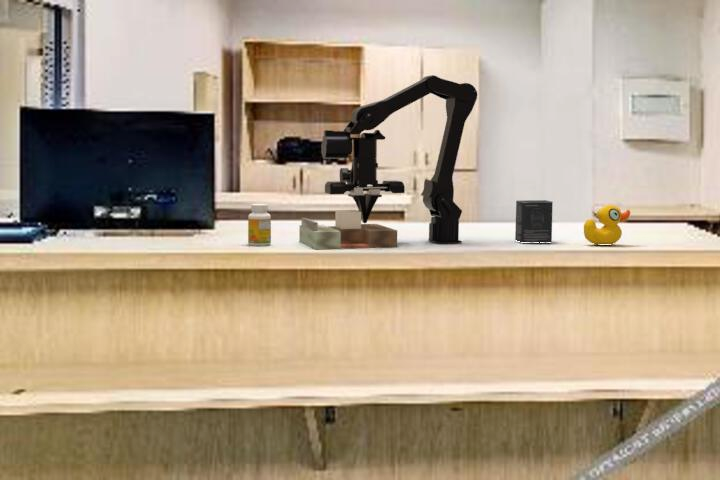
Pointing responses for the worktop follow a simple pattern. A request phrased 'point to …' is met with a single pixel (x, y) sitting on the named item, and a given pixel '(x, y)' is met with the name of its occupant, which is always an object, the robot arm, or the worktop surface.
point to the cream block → (348, 219)
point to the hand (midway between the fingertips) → (364, 222)
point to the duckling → (606, 226)
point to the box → (534, 221)
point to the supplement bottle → (259, 225)
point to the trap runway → (346, 236)
